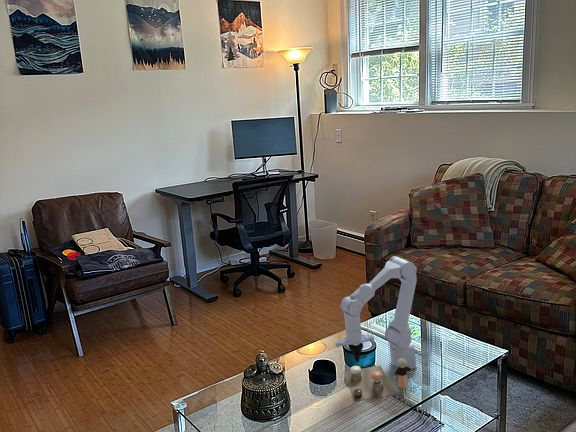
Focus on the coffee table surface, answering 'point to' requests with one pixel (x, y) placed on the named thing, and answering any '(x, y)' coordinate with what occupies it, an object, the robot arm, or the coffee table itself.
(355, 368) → the knob far
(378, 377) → the knob near
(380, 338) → the coffee table surface
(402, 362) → the grandmother figurine
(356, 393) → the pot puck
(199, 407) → the coffee table surface
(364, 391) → the beige rectangular board
